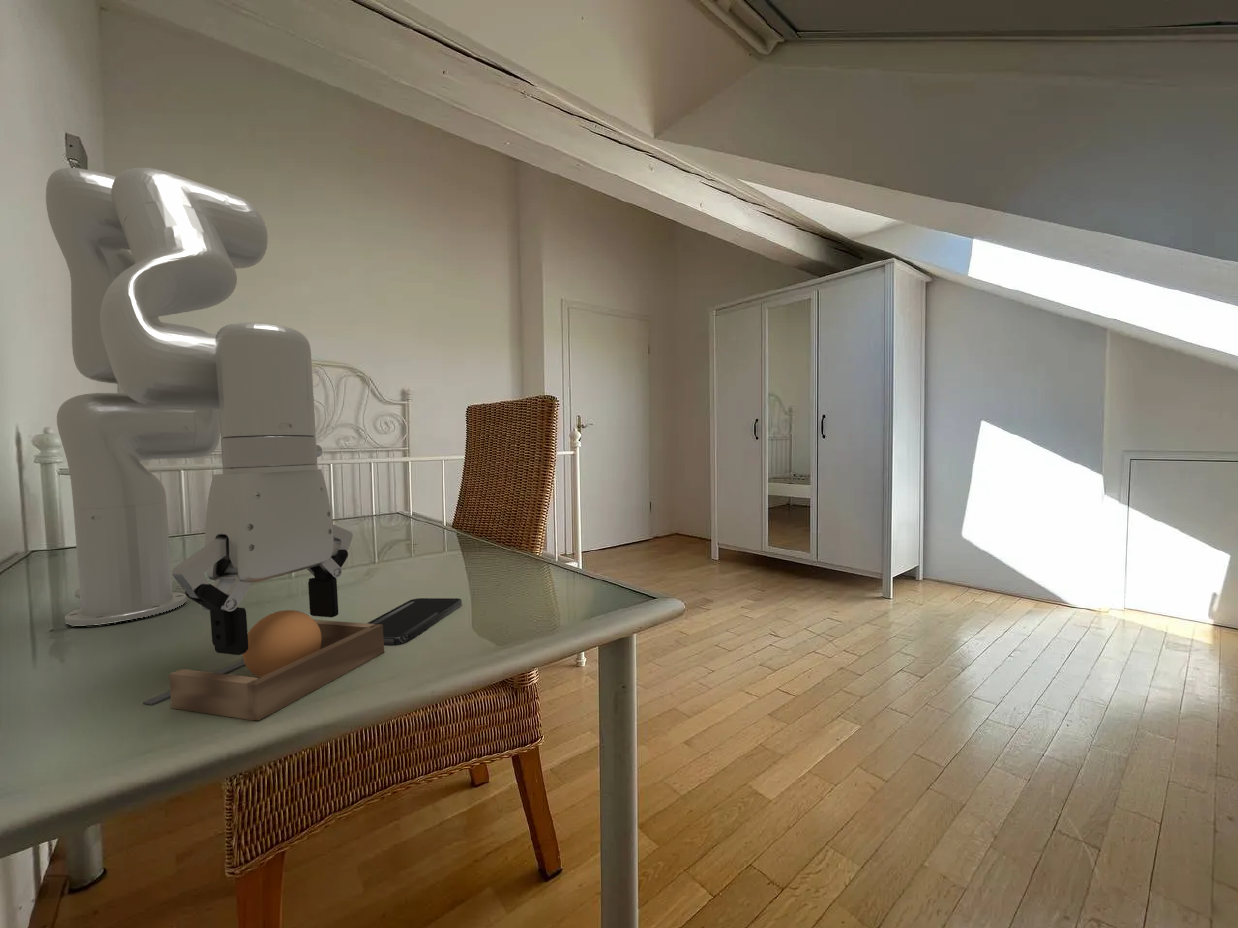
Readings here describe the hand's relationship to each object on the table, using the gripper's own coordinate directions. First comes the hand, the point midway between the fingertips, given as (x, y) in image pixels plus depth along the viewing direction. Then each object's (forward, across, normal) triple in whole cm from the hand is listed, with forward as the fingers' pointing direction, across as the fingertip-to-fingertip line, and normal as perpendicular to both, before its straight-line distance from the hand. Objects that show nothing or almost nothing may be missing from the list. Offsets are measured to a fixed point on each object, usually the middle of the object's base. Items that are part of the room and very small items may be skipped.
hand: (282, 632), depth 49 cm
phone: (+5, -16, +2) cm, 17 cm away
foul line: (+4, 0, -7) cm, 9 cm away
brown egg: (+1, 0, 0) cm, 1 cm away
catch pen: (+4, 0, 0) cm, 4 cm away
